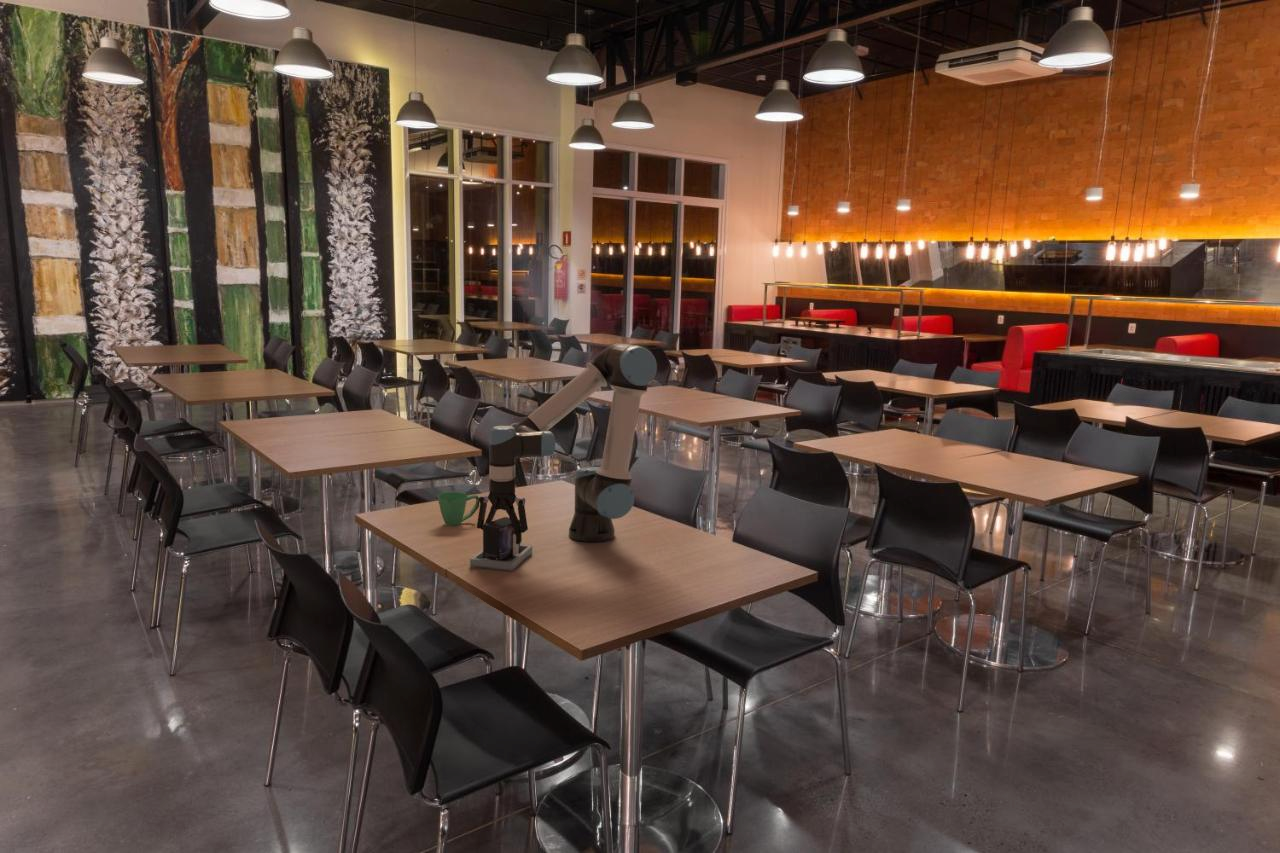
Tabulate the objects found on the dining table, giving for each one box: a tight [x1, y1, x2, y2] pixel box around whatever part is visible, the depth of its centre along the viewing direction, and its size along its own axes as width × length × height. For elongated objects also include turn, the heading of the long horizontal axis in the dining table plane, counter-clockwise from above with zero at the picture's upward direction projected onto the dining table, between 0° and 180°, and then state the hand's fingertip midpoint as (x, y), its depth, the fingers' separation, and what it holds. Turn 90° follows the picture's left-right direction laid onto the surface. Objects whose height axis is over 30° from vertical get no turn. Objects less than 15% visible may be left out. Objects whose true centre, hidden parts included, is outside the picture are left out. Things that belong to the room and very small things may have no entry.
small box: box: [482, 516, 521, 561], centre depth 252 cm, size 11×6×10 cm, turn 150°
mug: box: [437, 491, 480, 527], centre depth 288 cm, size 15×10×10 cm
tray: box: [469, 544, 533, 573], centre depth 253 cm, size 13×17×2 cm
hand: (502, 552), depth 252 cm, fingers open, 8 cm apart
